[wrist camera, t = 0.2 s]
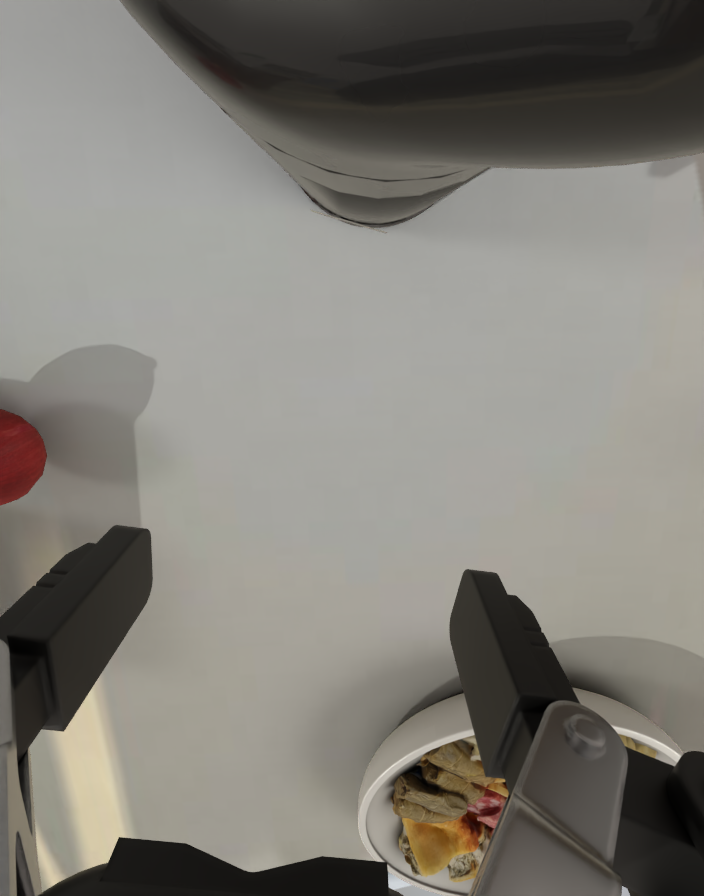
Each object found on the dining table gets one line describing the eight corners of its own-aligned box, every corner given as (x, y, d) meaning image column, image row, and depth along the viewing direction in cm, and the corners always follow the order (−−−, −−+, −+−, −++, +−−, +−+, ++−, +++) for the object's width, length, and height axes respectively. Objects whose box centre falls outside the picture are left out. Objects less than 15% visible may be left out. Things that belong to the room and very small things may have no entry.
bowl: (299, 733, 42) (286, 833, 34) (606, 613, 34) (670, 709, 27) (444, 867, 52) (457, 966, 45) (703, 797, 45) (768, 902, 37)
